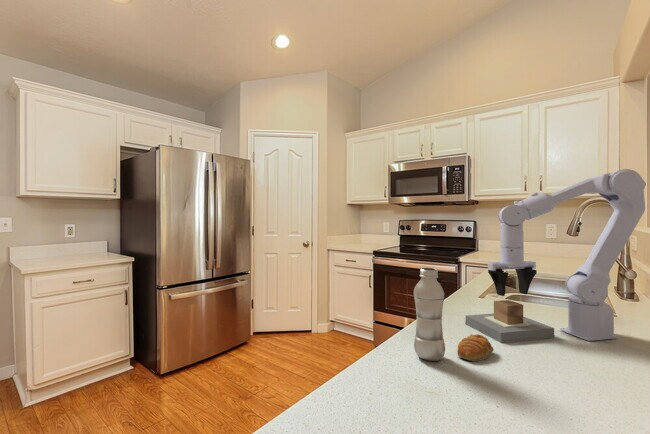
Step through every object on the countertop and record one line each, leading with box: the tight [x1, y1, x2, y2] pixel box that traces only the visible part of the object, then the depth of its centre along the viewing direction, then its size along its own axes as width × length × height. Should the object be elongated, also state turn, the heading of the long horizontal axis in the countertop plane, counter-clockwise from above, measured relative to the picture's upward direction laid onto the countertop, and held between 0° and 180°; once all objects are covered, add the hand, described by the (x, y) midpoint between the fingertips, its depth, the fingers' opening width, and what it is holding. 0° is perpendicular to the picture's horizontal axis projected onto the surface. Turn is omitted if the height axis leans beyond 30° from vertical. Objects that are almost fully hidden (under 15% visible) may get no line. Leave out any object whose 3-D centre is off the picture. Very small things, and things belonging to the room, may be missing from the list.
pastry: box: [457, 333, 494, 362], centre depth 72 cm, size 9×7×4 cm
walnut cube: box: [493, 299, 524, 325], centre depth 86 cm, size 5×5×5 cm
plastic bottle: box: [413, 267, 446, 362], centre depth 70 cm, size 6×7×20 cm
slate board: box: [464, 312, 555, 344], centre depth 86 cm, size 16×14×3 cm
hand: (512, 294), depth 89 cm, fingers open, 7 cm apart
